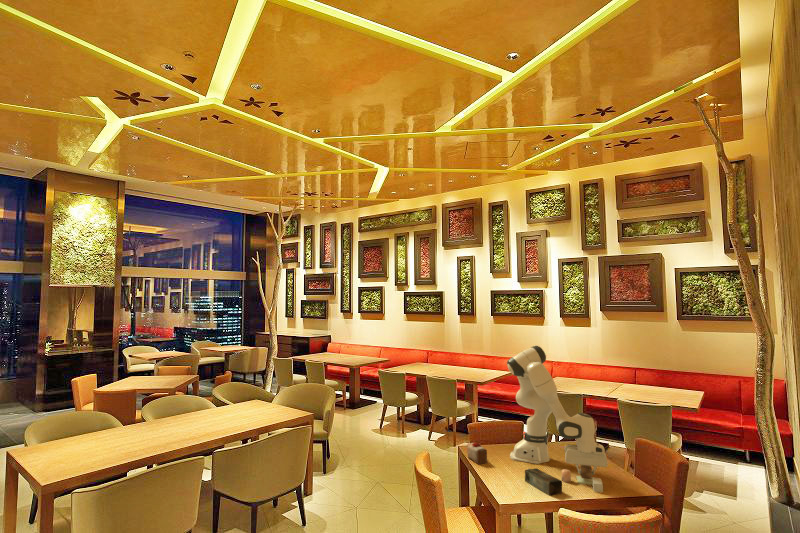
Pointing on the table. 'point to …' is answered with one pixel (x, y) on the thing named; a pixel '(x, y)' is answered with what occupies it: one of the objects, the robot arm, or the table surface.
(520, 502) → the table surface
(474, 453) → the grey canister red cap
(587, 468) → the walnut cube
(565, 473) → the brown egg
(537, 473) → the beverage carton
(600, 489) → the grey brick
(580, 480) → the green tile
